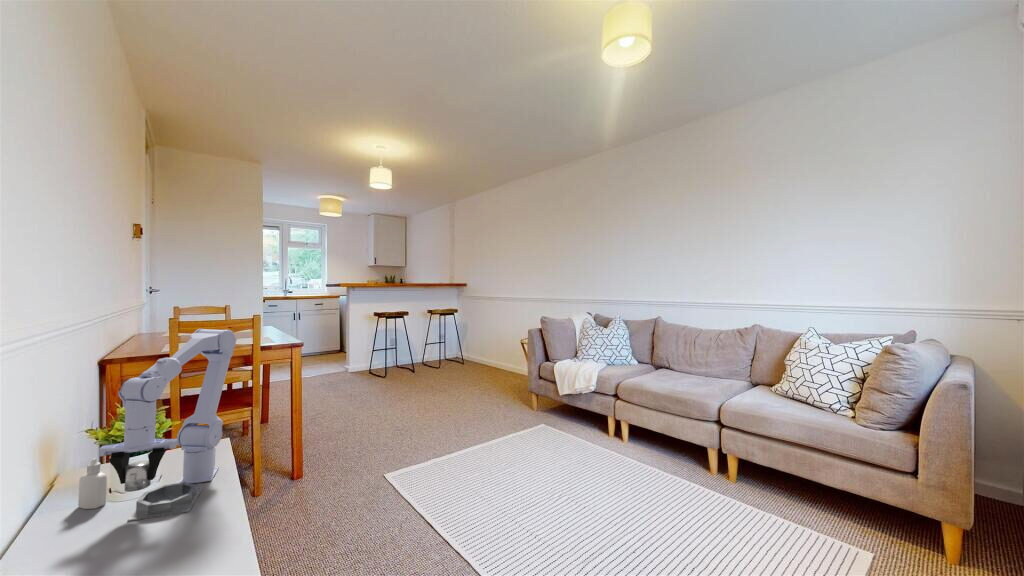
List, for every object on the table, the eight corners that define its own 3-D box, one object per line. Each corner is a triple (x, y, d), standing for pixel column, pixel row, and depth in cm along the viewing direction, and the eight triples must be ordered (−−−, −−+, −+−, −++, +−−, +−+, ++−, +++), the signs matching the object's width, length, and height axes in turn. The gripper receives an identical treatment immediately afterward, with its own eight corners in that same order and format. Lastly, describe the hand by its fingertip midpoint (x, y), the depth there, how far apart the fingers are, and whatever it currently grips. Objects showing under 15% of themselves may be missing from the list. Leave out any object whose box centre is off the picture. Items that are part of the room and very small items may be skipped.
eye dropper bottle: (100, 498, 107) (102, 453, 107) (107, 505, 104) (109, 458, 104) (76, 505, 103) (79, 458, 103) (82, 513, 100) (84, 464, 100)
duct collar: (147, 497, 108) (147, 486, 108) (202, 490, 113) (202, 479, 113) (127, 521, 97) (127, 509, 97) (189, 511, 102) (189, 500, 102)
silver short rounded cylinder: (129, 483, 102) (130, 462, 102) (154, 480, 104) (154, 459, 104) (118, 494, 97) (119, 471, 97) (144, 491, 99) (145, 469, 99)
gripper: (92, 434, 94) (90, 492, 94) (171, 427, 100) (169, 482, 100) (108, 424, 101) (106, 479, 101) (180, 419, 107) (178, 470, 107)
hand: (138, 480), depth 101 cm, fingers closed on silver short rounded cylinder, 5 cm apart
